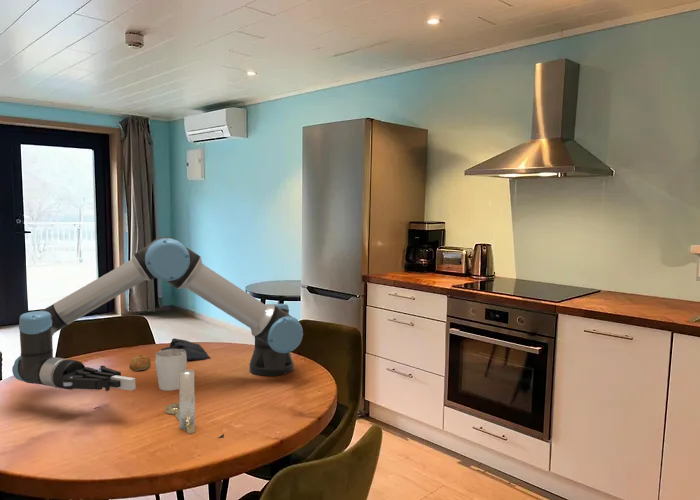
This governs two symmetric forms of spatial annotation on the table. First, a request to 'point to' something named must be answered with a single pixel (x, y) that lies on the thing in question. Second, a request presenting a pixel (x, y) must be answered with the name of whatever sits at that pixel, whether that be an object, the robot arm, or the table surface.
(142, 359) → the pastry
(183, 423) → the tuning peg
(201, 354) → the dark grey crumpled cloth
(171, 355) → the cup
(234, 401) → the table surface
